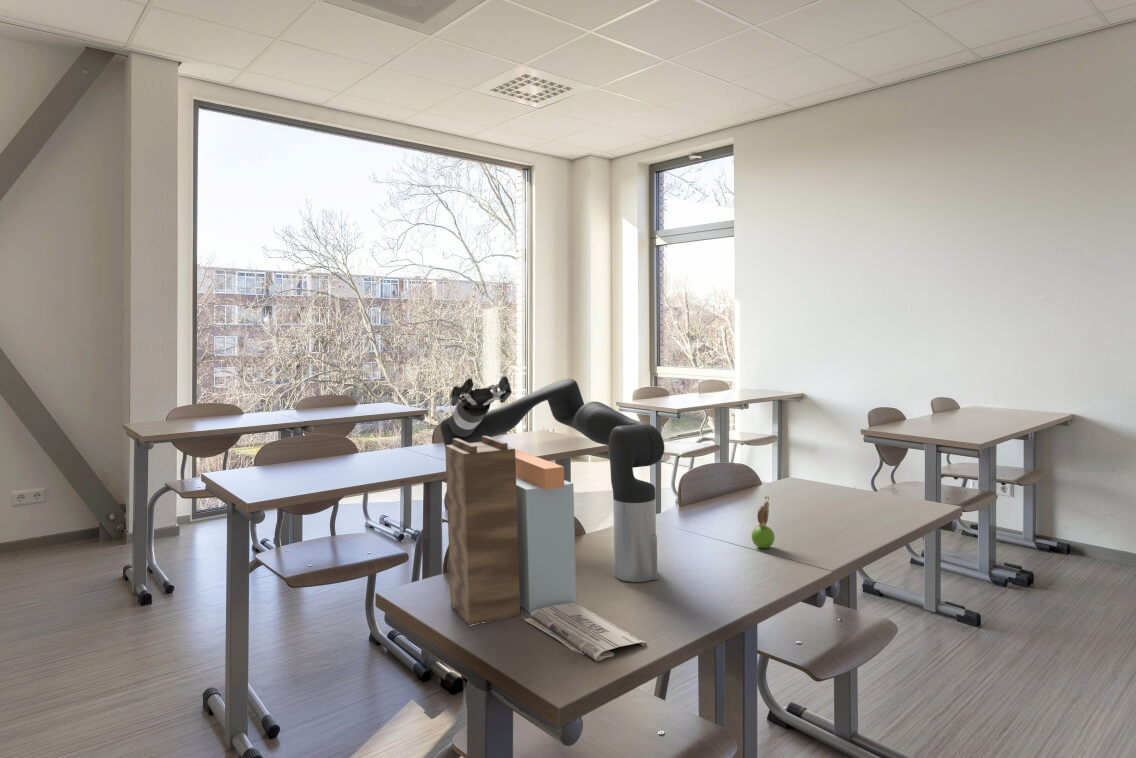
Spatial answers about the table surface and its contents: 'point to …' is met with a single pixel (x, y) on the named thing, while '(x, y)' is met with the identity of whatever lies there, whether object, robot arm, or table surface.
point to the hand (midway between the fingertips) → (488, 380)
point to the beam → (539, 471)
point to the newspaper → (582, 630)
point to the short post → (545, 545)
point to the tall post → (482, 529)
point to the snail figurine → (763, 528)
